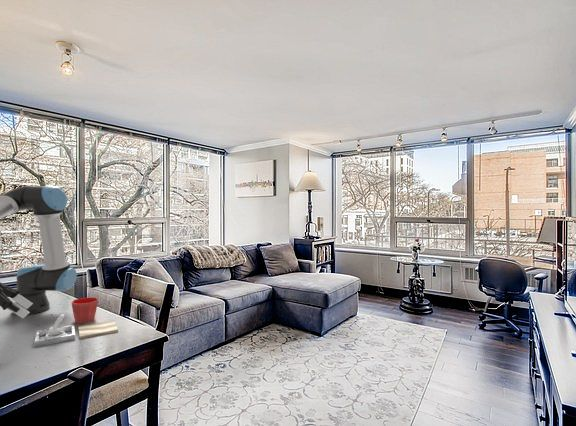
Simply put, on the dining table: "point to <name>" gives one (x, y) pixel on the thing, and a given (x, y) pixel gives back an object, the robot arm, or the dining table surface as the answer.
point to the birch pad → (97, 329)
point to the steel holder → (54, 339)
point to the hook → (56, 328)
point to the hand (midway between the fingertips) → (28, 310)
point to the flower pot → (84, 309)
